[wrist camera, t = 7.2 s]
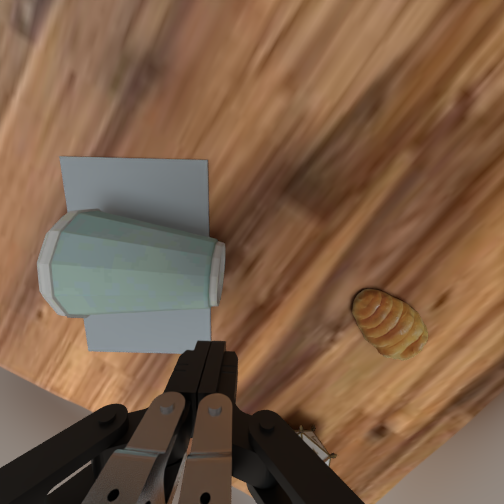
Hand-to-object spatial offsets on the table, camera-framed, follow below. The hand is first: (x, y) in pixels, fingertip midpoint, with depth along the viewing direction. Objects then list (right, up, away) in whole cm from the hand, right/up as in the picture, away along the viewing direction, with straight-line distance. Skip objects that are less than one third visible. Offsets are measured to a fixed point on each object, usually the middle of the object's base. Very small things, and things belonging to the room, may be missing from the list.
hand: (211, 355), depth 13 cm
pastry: (+19, -3, +19) cm, 27 cm away
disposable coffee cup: (-1, +3, +11) cm, 12 cm away
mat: (-11, +4, +17) cm, 21 cm away
